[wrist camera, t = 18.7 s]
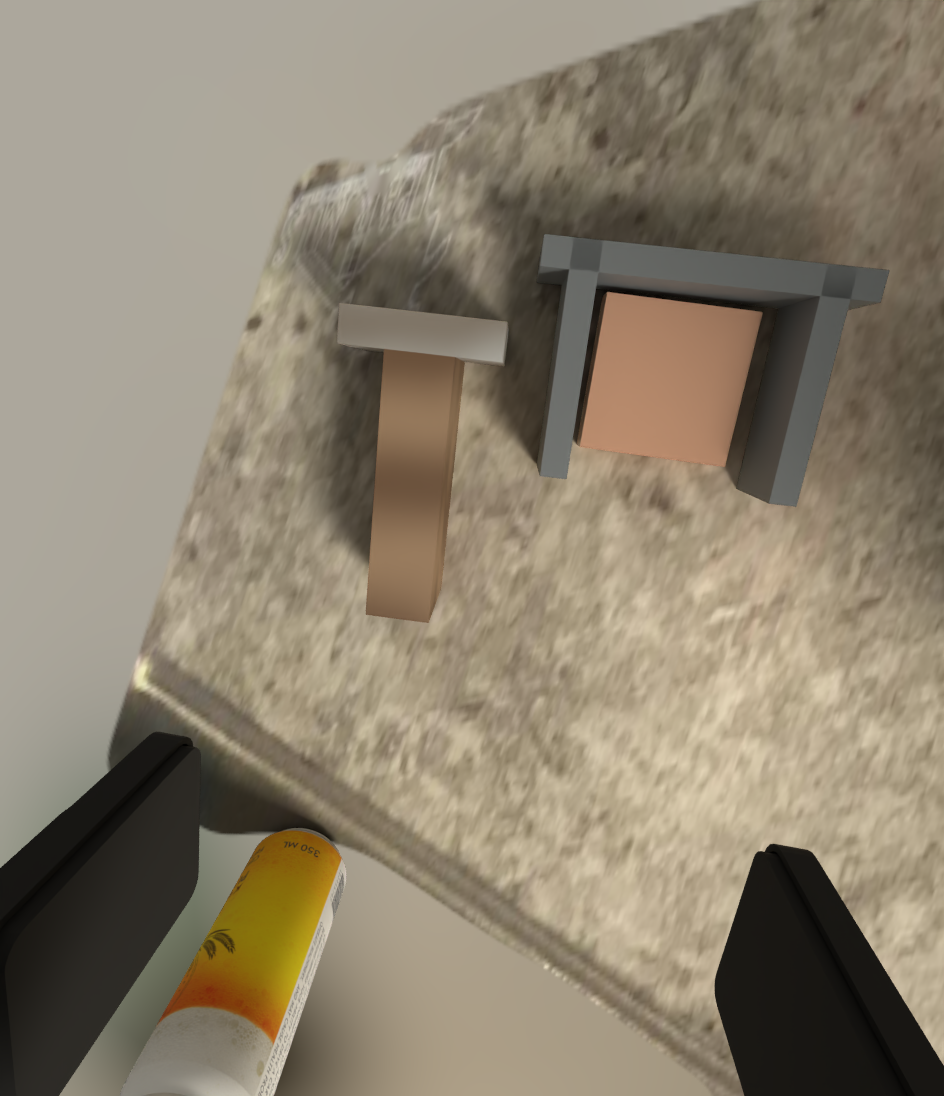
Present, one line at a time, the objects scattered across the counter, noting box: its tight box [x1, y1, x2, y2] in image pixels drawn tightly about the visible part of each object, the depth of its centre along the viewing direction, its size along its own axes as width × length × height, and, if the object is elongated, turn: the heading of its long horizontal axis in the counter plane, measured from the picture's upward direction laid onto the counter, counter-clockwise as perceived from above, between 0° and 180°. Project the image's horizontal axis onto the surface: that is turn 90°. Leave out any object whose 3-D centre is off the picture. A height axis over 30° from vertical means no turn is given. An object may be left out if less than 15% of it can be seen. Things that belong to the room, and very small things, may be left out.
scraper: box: [337, 303, 509, 623], centre depth 29 cm, size 14×7×5 cm, turn 174°
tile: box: [577, 292, 763, 467], centre depth 29 cm, size 7×7×2 cm
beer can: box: [120, 828, 346, 1096], centre depth 31 cm, size 6×6×15 cm
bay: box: [537, 234, 889, 507], centre depth 27 cm, size 14×10×4 cm
